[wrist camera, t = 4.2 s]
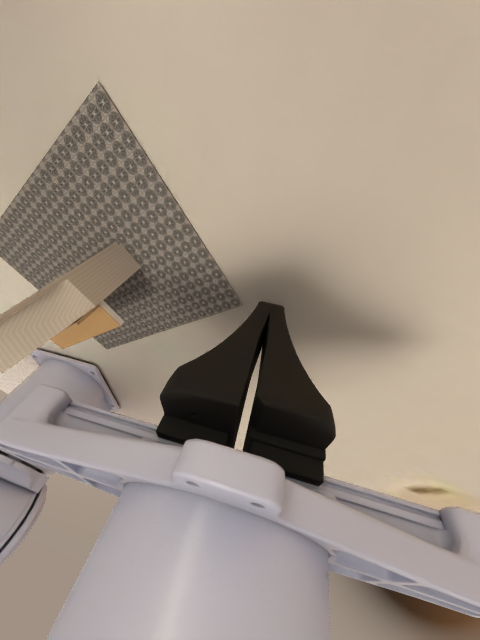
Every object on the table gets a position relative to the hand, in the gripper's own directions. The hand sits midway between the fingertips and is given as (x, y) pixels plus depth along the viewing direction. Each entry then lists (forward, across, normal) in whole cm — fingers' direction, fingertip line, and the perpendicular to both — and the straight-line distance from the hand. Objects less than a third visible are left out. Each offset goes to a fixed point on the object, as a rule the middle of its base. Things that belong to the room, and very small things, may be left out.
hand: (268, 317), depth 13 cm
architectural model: (+1, +11, 0) cm, 11 cm away
